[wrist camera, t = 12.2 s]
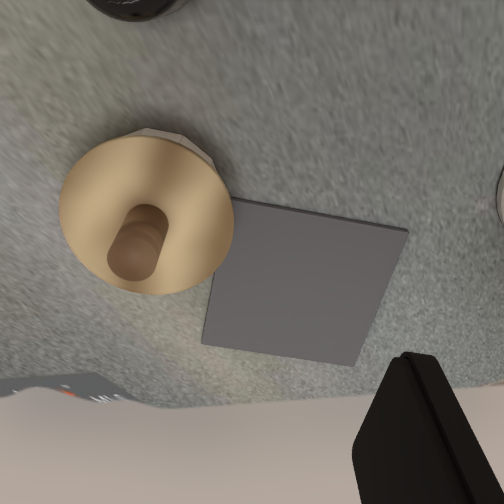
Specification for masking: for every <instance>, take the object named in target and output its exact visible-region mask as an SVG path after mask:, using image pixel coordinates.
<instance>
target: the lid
mask: <svg viewBox="0 0 504 504" xmlns="http://www.w3.org/2000/svg"><path fill="white" fill-rule="evenodd" d="M59 217H60V222H61V227H62V230H63V233H64V236H65V238H66V240H67V242H68V244H69V246H70V248H71V249H72V251H73V252H74V254H75V255H76V257H77V258H78V259H79V260H80V261H81V262H82V263H83V265H84V266H86V267H87V268H88V269H89V270H90V271H91V272H92V273H94V274H95V275H97V276H98V277H99V278H101V279H102V280H104V281H106V282H108V283H110V284H112V285H114V286H116V287H119V288H121V289H124V290H127V291H131V292H136V293H140V294H150V295H162V294H170V293H175V292H179V291H183V290H186V289H189V288H191V287H193V286H195V285H197V284H199V283H201V282H202V281H204V280H205V279H207V278H208V277H209V276H210V275H211V274H212V273H214V272H215V271H216V269H217V268H218V267H219V266H220V265H221V263H222V262H223V260H224V259H225V257H226V255H227V253H228V251H229V248H230V245H231V242H232V238H233V231H234V211H233V205H232V201H231V198H230V195H229V192H228V190H227V188H226V186H225V184H224V182H223V180H222V179H221V177H220V176H219V174H218V173H217V172H216V171H215V169H214V168H213V167H212V166H211V165H210V164H209V163H208V162H207V161H206V160H205V159H204V158H203V157H201V156H200V155H199V154H197V153H196V152H194V151H193V150H191V149H190V148H188V147H186V146H184V145H182V144H180V143H177V142H175V141H172V140H170V139H166V138H162V137H158V136H150V135H129V136H121V137H118V138H114V139H110V140H108V141H106V142H103V143H101V144H99V145H97V146H96V147H94V148H93V149H91V150H90V151H88V152H87V153H86V154H85V155H84V156H83V157H82V158H81V159H80V160H79V161H78V162H77V163H76V164H75V165H74V167H73V168H72V169H71V170H70V172H69V174H68V175H67V177H66V179H65V181H64V184H63V186H62V190H61V194H60V199H59Z"/></svg>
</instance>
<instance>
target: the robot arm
mask: <svg viewBox="0 0 504 504" xmlns="http://www.w3.org/2000/svg"><path fill="white" fill-rule="evenodd" d="M497 210H498V214H499V217H500V220H501V222H502V224H503V225H504V171H503V173H502V176H501V179H500V182H499V185H498V191H497ZM352 461H353V466H354V471H355V476H356V480H357V484H358V489H359V494H360V499H361V503H362V504H504V493H503V491H502V489H501V487H500V484H499V482H498V480H497V479H496V477H495V474H494V473H493V470H492V468H491V467H490V465H489V463H488V460H487V458H486V456H485V455H484V452H483V450H482V448H481V446H480V445H479V442H478V441H477V439H476V437H475V434H474V432H473V430H472V429H471V426H470V424H469V423H468V421H467V418H466V416H465V414H464V412H463V410H462V408H461V406H460V405H459V402H458V400H457V398H456V397H455V394H454V393H453V390H452V388H451V386H450V384H449V382H448V380H447V378H446V376H445V374H444V372H443V370H442V368H441V366H440V364H439V362H438V361H437V359H436V358H435V357H434V356H432V355H426V354H420V353H413V352H404V353H402V354H401V356H400V357H394V358H393V359H392V361H391V362H390V365H389V367H388V369H387V371H386V373H385V375H384V378H383V380H382V382H381V384H380V386H379V388H378V391H377V393H376V395H375V397H374V399H373V402H372V404H371V406H370V408H369V410H368V412H367V415H366V417H365V419H364V421H363V423H362V425H361V428H360V430H359V432H358V434H357V436H356V439H355V441H354V443H353V447H352Z"/></svg>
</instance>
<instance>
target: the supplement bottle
mask: <svg viewBox="0 0 504 504" xmlns="http://www.w3.org/2000/svg"><path fill="white" fill-rule="evenodd" d="M86 1H87V2H88V3H90V4H91V5H92V6H93V7H94V8H96V9H97V10H98V11H100V12H102V13H103V14H105V15H107V16H109V17H111V18H114V19H117V20H121V21H126V22H144V21H149V20H152V19H156V18H159V17H162V16H165V15H168V14H171V13H173V12H175V11H177V10H179V9H180V8H181V7H183V6H184V5H185V4H186V3H187V2H188V1H189V0H86Z"/></svg>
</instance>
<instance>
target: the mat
mask: <svg viewBox="0 0 504 504" xmlns="http://www.w3.org/2000/svg"><path fill="white" fill-rule="evenodd" d="M230 198H231V201H232V205H233V211H234V231H233V238H232V242H231V245H230V248H229V251H228V253H227V255H226V257H225V259H224V260H223V262H222V263H221V265H220V266H219V267H218V268H217V269H216V271H215V274H214V279H213V284H212V289H211V294H210V299H209V305H208V310H207V315H206V320H205V325H204V331H203V336H202V341H201V344H204V345H211V346H217V347H224V348H231V349H237V350H244V351H251V352H257V353H264V354H271V355H278V356H284V357H291V358H298V359H304V360H311V361H318V362H324V363H331V364H338V365H344V366H351V367H354V365H355V363H356V361H357V358H358V356H359V353H360V351H361V348H362V346H363V344H364V341H365V339H366V336H367V334H368V331H369V329H370V327H371V324H372V322H373V319H374V317H375V315H376V312H377V310H378V307H379V305H380V302H381V300H382V298H383V295H384V293H385V290H386V288H387V285H388V283H389V281H390V278H391V276H392V273H393V271H394V268H395V266H396V264H397V261H398V259H399V256H400V254H401V251H402V249H403V247H404V244H405V242H406V239H407V237H408V234H409V231H408V230H407V229H402V228H396V227H391V226H385V225H380V224H375V223H369V222H364V221H358V220H353V219H347V218H342V217H336V216H331V215H326V214H320V213H315V212H309V211H304V210H298V209H293V208H287V207H282V206H276V205H271V204H266V203H260V202H255V201H249V200H244V199H238V198H233V197H230Z"/></svg>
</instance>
